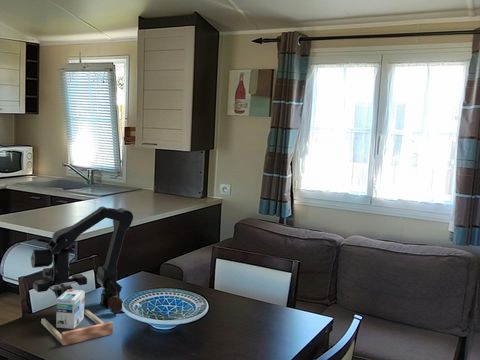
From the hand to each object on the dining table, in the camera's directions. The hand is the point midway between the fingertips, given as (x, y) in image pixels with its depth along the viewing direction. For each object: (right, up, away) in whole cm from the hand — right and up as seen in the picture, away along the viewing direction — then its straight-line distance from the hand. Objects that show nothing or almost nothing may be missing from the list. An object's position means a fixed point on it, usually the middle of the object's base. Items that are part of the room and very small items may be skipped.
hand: (60, 304), depth 185 cm
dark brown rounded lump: (+20, -4, +6) cm, 21 cm away
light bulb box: (+7, -5, -8) cm, 11 cm away
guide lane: (+10, -5, -11) cm, 16 cm away
